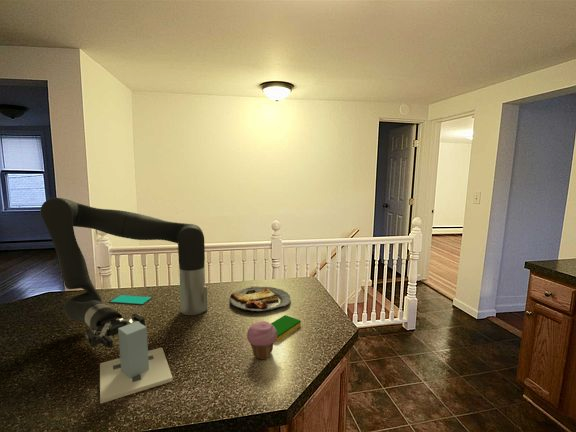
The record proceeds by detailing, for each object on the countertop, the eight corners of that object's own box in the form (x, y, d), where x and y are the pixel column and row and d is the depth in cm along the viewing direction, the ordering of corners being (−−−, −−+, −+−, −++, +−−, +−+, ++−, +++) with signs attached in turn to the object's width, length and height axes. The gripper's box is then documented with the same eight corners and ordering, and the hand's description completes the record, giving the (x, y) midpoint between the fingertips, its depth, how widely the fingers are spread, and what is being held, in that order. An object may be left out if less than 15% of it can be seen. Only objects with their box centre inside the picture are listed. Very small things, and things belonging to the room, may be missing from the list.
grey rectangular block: (139, 362, 87) (137, 321, 85) (149, 369, 84) (146, 327, 82) (121, 370, 83) (118, 328, 82) (129, 378, 80) (127, 334, 78)
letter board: (162, 350, 95) (162, 347, 94) (172, 381, 81) (172, 377, 81) (100, 366, 87) (100, 363, 86) (100, 403, 73) (100, 399, 73)
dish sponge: (259, 336, 104) (259, 329, 104) (284, 320, 115) (285, 314, 115) (276, 343, 100) (276, 336, 99) (301, 326, 111) (301, 320, 111)
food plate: (241, 319, 115) (241, 310, 114) (221, 297, 135) (221, 289, 134) (300, 307, 127) (300, 299, 126) (274, 289, 147) (274, 281, 146)
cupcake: (272, 366, 87) (272, 332, 86) (242, 361, 90) (242, 328, 88) (280, 349, 96) (280, 318, 95) (253, 345, 98) (253, 314, 97)
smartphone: (120, 294, 135) (152, 297, 133) (120, 296, 135) (153, 298, 133) (108, 301, 128) (142, 304, 126) (108, 303, 128) (142, 306, 126)
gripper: (75, 315, 89) (98, 335, 79) (126, 300, 100) (152, 315, 90) (77, 340, 90) (100, 362, 80) (128, 322, 101) (154, 339, 91)
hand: (128, 337), depth 85 cm, fingers open, 8 cm apart
